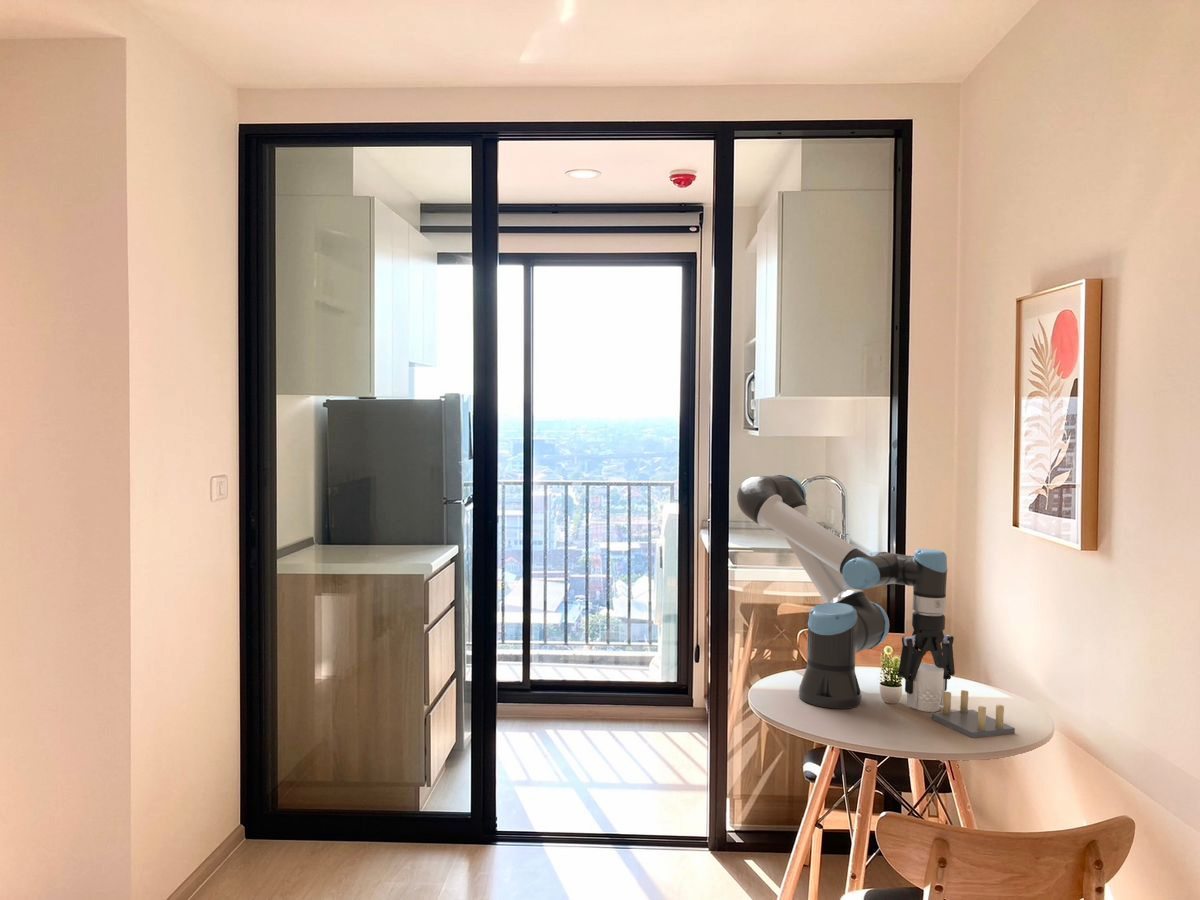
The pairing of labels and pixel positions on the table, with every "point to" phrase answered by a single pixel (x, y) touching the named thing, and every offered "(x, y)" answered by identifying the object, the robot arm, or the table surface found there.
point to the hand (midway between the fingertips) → (925, 705)
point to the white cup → (929, 687)
